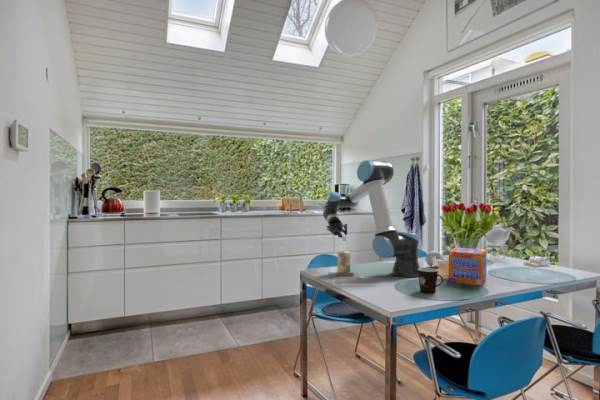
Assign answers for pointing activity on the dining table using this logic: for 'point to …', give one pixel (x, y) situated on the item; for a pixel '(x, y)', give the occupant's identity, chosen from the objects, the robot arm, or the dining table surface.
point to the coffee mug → (428, 280)
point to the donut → (431, 255)
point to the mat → (344, 275)
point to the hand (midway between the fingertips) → (344, 238)
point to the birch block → (343, 261)
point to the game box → (467, 266)
